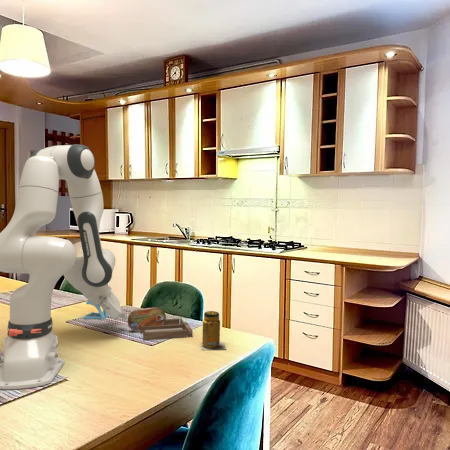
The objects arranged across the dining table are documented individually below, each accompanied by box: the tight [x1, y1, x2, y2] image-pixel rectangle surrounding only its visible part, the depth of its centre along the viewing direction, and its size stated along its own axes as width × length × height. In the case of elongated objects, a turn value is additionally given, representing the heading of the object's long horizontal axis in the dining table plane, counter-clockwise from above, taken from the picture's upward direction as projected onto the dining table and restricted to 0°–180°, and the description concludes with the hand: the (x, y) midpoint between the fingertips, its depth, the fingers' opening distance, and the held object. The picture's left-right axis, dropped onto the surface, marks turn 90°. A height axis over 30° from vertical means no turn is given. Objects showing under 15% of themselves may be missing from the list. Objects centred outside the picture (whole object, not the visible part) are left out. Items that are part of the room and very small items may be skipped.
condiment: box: [200, 310, 227, 351], centre depth 147 cm, size 7×8×12 cm
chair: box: [83, 299, 108, 320], centre depth 177 cm, size 8×8×12 cm
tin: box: [127, 306, 167, 333], centre depth 163 cm, size 15×3×8 cm, turn 122°
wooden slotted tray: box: [140, 317, 194, 341], centre depth 162 cm, size 16×18×3 cm
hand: (126, 318), depth 161 cm, fingers closed
